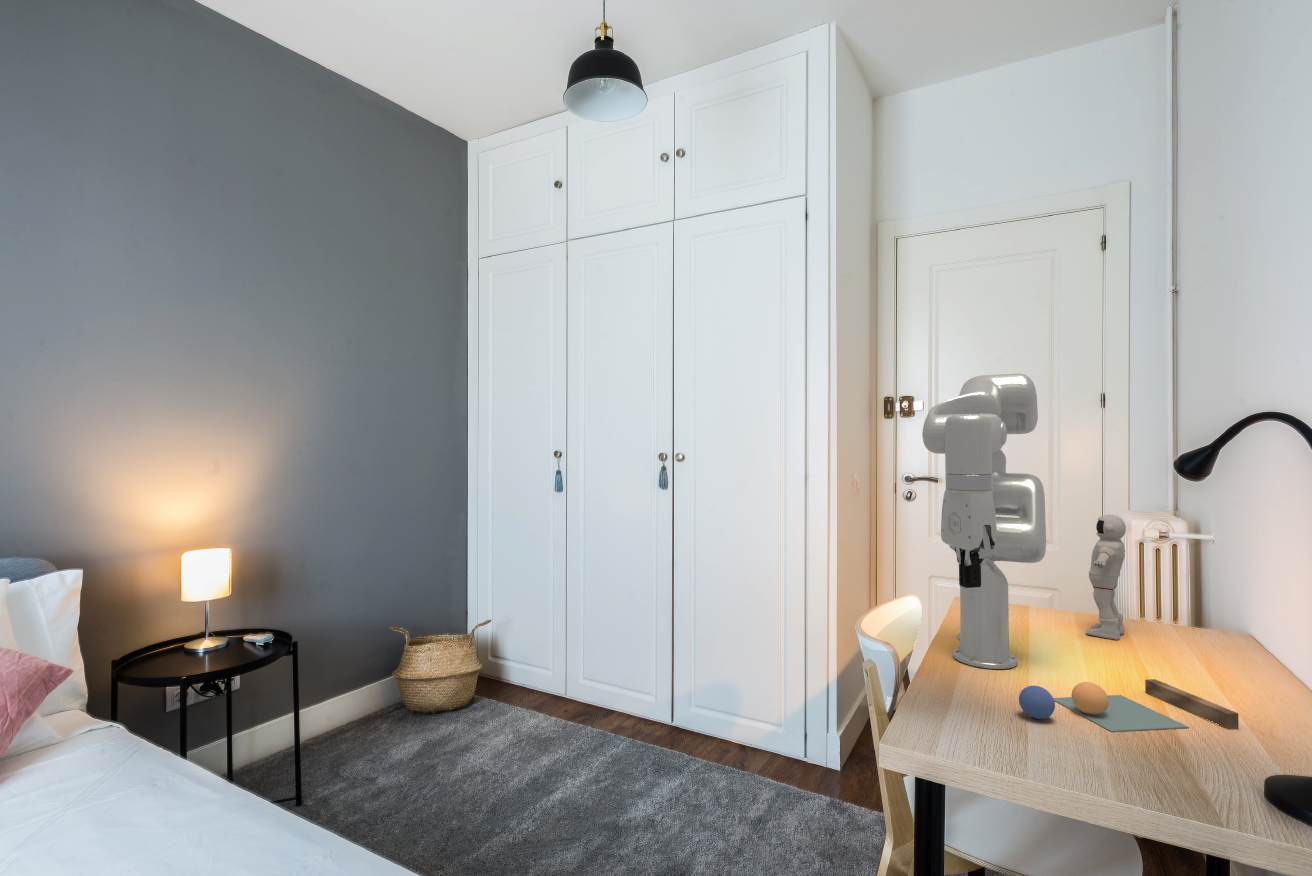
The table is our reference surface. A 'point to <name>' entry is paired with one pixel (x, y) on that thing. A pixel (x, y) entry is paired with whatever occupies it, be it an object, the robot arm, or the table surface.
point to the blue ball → (1036, 702)
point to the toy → (1107, 576)
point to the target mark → (1125, 715)
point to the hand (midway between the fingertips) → (970, 586)
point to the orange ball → (1090, 698)
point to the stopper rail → (1192, 703)
